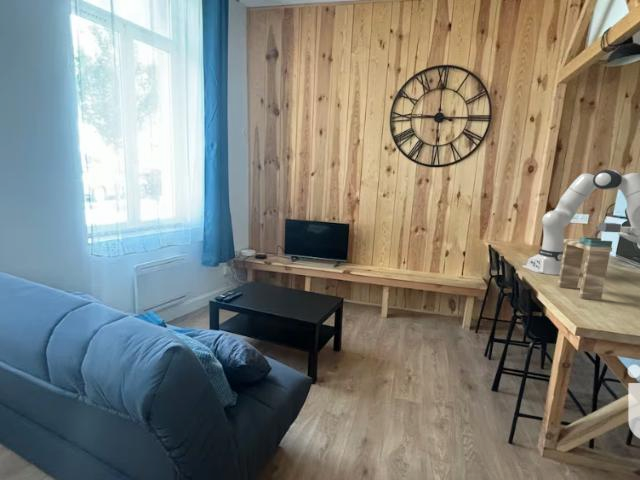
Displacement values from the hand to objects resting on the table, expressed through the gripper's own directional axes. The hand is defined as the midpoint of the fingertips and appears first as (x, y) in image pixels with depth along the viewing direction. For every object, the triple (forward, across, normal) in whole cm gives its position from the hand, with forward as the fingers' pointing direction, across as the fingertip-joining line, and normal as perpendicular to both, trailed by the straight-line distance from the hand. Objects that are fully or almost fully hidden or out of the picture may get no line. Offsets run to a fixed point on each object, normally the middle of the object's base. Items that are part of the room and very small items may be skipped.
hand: (626, 228), depth 177 cm
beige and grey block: (+2, 0, +3) cm, 4 cm away
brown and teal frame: (0, +2, +39) cm, 39 cm away
